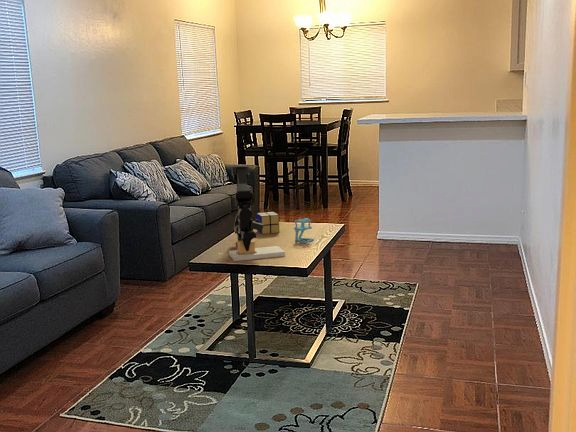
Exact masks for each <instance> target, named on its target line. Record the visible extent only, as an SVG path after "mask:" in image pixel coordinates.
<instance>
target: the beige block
mask: <svg viewBox="0 0 576 432" xmlns="http://www.w3.org/2000/svg"><path fill="white" fill-rule="evenodd" d="M237 242H238V245H237V250H238V252H239V253H240V254H242V253H252V252H255V248H256V241H254V239H252V240H251V243H250V247H249V251H246V249H245V247H244V244H243V242H242V240H240V241H238V240H237Z"/></svg>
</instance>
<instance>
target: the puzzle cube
mask: <svg viewBox="0 0 576 432" xmlns="http://www.w3.org/2000/svg"><path fill="white" fill-rule="evenodd" d="M256 220H259V223H261V224H263V225H264V226H263V230H262V232H261V231H259V230H256V231H257V232H259V233H260V234H261V235H268V234H279V233H280V215H279V214H278V213H276V212H274V211H268V212H257V213H256Z"/></svg>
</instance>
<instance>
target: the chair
mask: <svg viewBox="0 0 576 432" xmlns="http://www.w3.org/2000/svg"><path fill="white" fill-rule="evenodd" d="M311 222H312V220H311V219H310V218H309V217H304V218H301V219H300V218H299V219H297V220H294V224H295V227H293V230H294V231H295V239H294V240H295V242H299V243H301V244H307V243H310V242H313V241H315V238H311V237H302V236H303V234H304V232H305V231H307V230H311V229H312V226H311ZM298 223H300V225H299V226H298ZM306 223H308V225H307V226H306V225H305V224H306ZM299 232H300V233H299Z"/></svg>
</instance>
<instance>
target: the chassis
mask: <svg viewBox="0 0 576 432" xmlns="http://www.w3.org/2000/svg"><path fill="white" fill-rule="evenodd" d="M228 255H229V256H230V258H231V259H232V260H233V261H234V262H237V261H245V260H246V261H249V260H258V259H259V260H260V259H268V258H277V257H278V258H279V257H285V256H286V251H285V250H284V249H282V248H281V247H280V246H278V245H274V246H264V247H255V252H252V253H242V254H240V253H239V252H238V249H235V250H234V249H233V250H228Z"/></svg>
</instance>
